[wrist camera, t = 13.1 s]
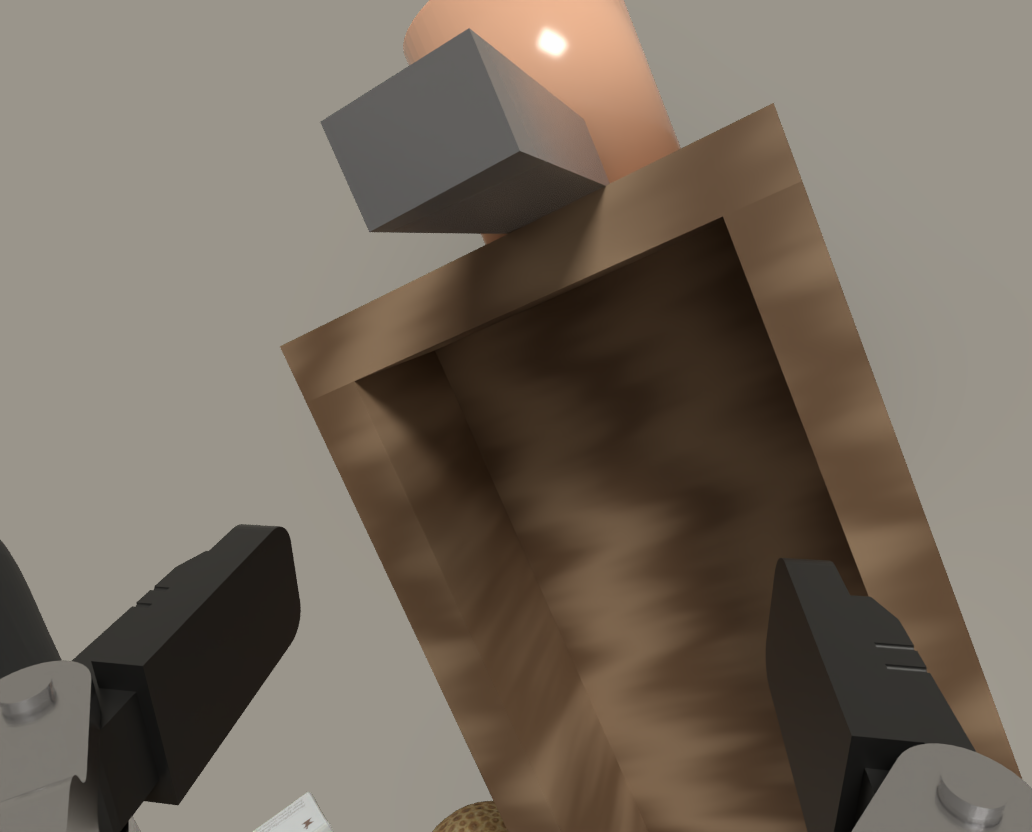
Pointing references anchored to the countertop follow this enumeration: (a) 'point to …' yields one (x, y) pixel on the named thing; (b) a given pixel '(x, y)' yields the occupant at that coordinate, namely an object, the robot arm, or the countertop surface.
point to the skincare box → (298, 818)
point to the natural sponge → (474, 819)
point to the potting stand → (633, 488)
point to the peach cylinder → (501, 117)
